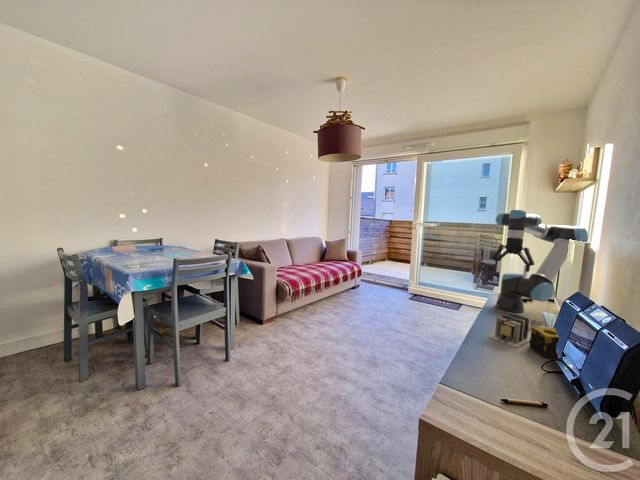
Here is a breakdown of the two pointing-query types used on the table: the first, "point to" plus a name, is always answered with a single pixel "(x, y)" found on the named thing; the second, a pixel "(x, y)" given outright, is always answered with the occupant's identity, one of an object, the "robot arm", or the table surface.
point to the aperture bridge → (517, 325)
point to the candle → (544, 341)
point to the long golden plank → (509, 329)
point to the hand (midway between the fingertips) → (510, 274)
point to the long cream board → (509, 340)
